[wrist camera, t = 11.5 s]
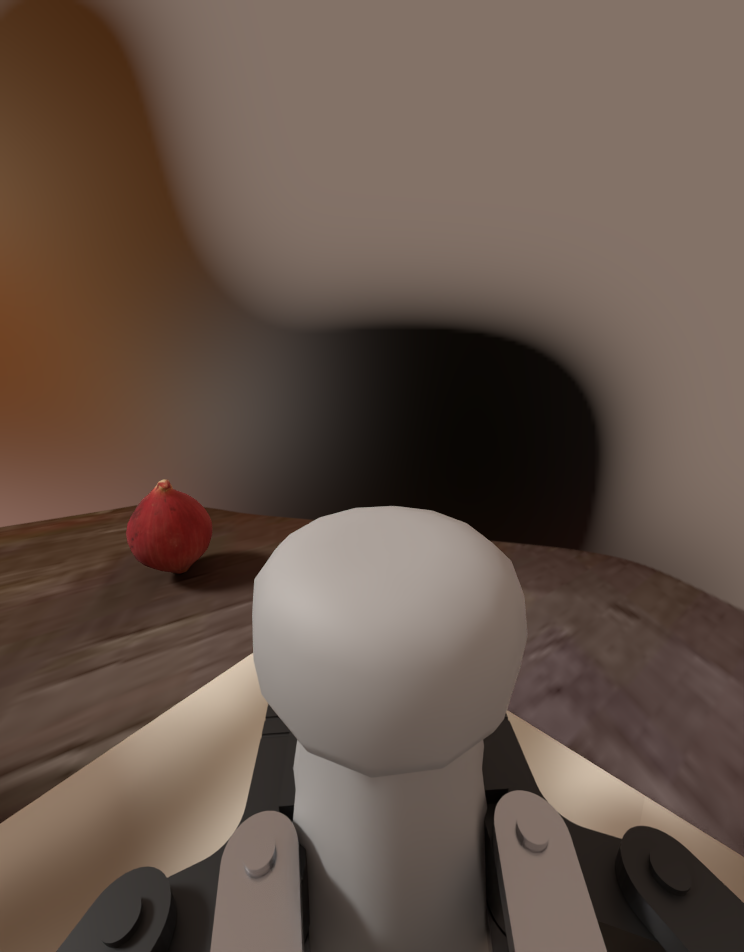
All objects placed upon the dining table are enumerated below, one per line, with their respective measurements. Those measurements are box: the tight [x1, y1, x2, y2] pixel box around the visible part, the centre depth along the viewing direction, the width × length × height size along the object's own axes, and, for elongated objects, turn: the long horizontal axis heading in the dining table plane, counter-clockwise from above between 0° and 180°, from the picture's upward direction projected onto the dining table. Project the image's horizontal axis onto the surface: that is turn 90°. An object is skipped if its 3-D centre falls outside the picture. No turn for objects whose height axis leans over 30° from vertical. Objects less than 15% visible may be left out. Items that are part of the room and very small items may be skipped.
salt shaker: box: [252, 506, 527, 952], centre depth 8 cm, size 6×6×13 cm
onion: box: [126, 480, 212, 574], centre depth 29 cm, size 6×6×8 cm
